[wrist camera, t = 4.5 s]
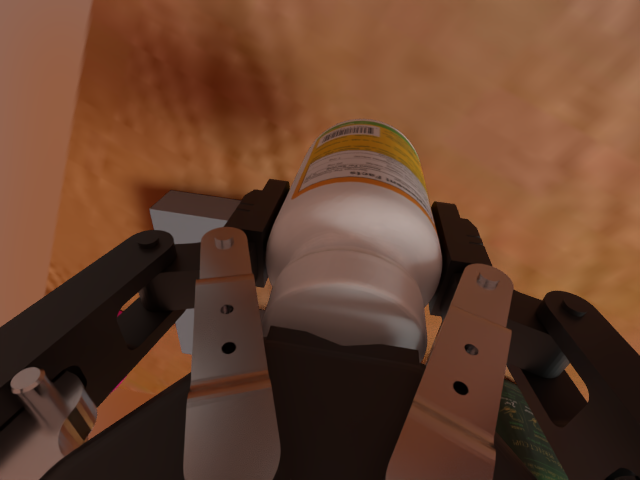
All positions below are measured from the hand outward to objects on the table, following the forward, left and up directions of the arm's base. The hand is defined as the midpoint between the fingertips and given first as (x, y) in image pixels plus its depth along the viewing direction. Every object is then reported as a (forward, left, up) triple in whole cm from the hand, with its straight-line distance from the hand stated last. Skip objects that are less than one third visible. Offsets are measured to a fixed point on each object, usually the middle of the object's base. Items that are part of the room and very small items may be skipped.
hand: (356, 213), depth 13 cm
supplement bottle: (0, 0, -4) cm, 4 cm away
